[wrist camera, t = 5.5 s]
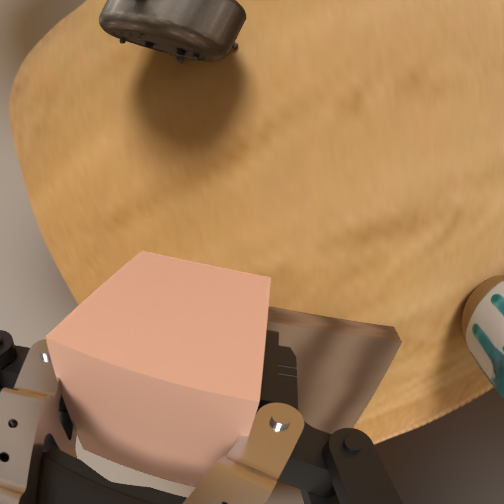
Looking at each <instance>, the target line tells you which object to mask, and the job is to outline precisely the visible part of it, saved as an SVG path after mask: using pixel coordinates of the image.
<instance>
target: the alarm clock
mask: <svg viewBox="0 0 504 504" xmlns="http://www.w3.org/2000/svg"><path fill="white" fill-rule="evenodd" d="M245 20H246V13H245V10H244V9H243V7H242V6H241V5H240V4H239V3H238V2H237V1H236V0H107V1H106V4H105V6H104V8H103V10H102V12H101V14H100V16H99V23H100V26H101V27H102V29H103V30H104V31H105V32H107V33H108V34H110V35H112V36H114V37H116V38H119V39H120V43H125V41H127V42H130V43H134V44H137V45H140V46H143V47H147V48H150V49H154V50H158V51H161V52H165V53H169V54H171V55H174V56H176V58H177V61H178V63H181V64H182V63H183V57H185V58H189V59H194V60H200V61H217V60H220V59H223V58H224V57H226V56H227V55H228V54H229V52H230V51H231V48H234V49H235V48H237V47H238V43H235V40H236V38H237V36H238V34H239V32H240V30H241V28H242V26H243V24H244V22H245Z"/></svg>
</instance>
